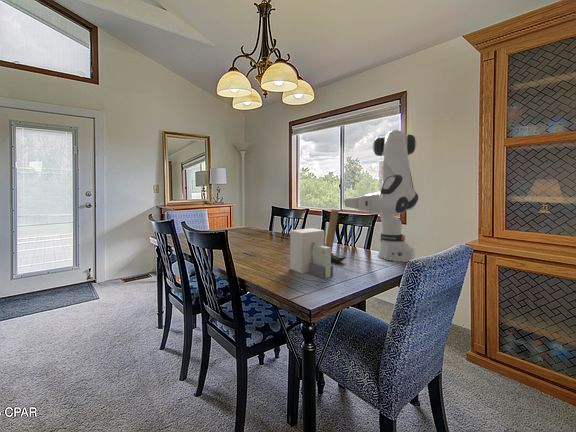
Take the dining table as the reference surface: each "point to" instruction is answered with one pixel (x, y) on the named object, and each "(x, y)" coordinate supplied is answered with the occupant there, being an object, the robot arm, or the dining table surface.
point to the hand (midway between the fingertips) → (352, 201)
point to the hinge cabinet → (306, 251)
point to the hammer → (332, 235)
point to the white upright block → (322, 258)
